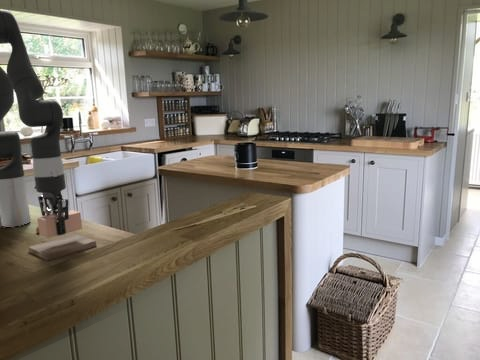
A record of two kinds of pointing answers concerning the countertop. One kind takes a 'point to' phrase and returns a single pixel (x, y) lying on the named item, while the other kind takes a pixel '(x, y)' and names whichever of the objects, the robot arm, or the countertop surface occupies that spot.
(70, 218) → the tall block
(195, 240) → the countertop surface
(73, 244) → the walnut board
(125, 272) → the countertop surface
